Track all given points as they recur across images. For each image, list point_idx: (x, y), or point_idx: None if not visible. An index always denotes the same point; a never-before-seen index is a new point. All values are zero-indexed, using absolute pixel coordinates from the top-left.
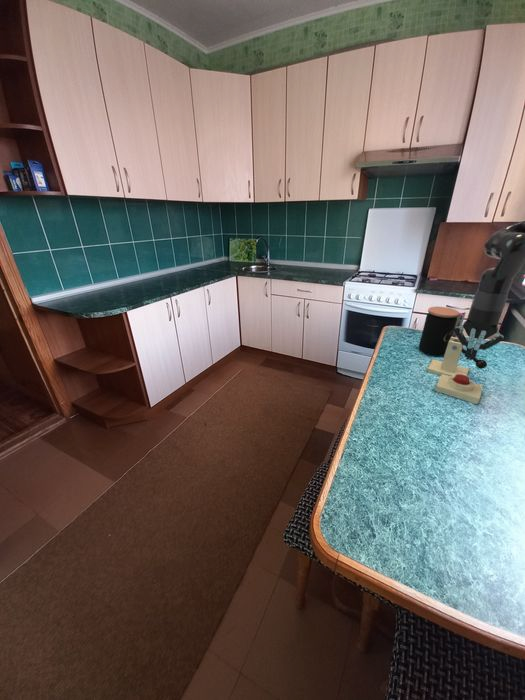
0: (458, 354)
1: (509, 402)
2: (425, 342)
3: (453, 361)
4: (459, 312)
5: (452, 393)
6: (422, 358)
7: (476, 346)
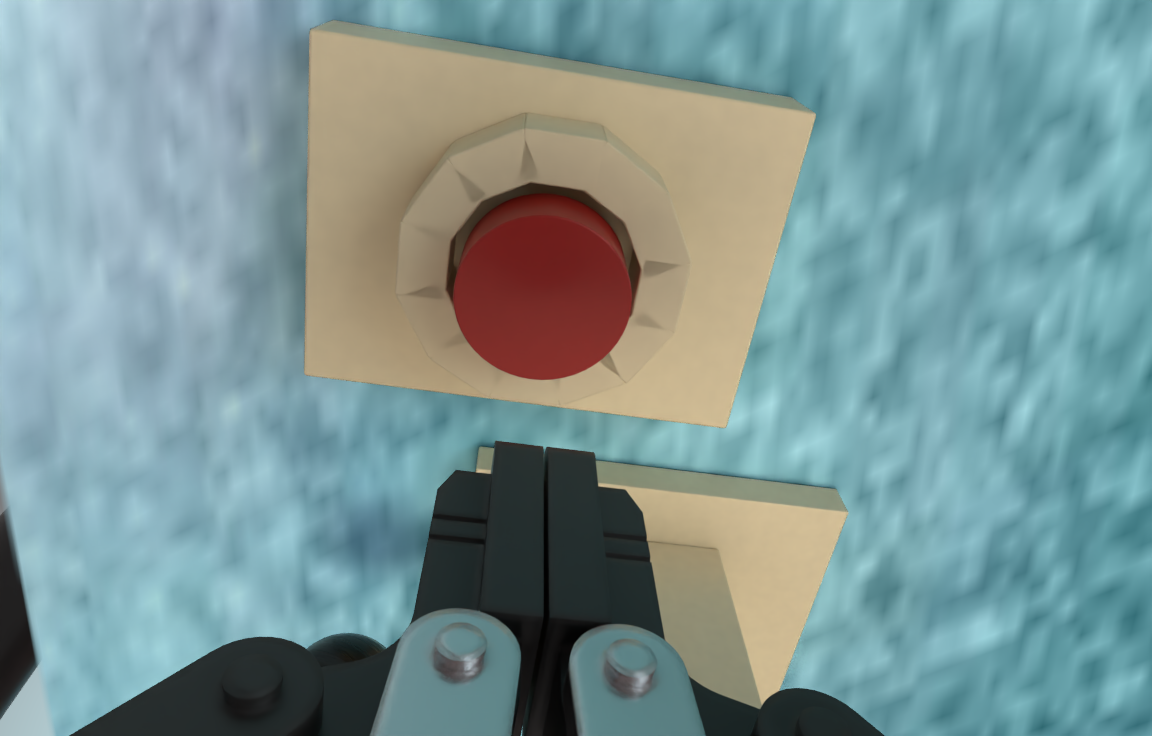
0: None
1: (45, 249)
2: None
3: None
4: None
5: (613, 71)
6: (850, 703)
7: (465, 706)
